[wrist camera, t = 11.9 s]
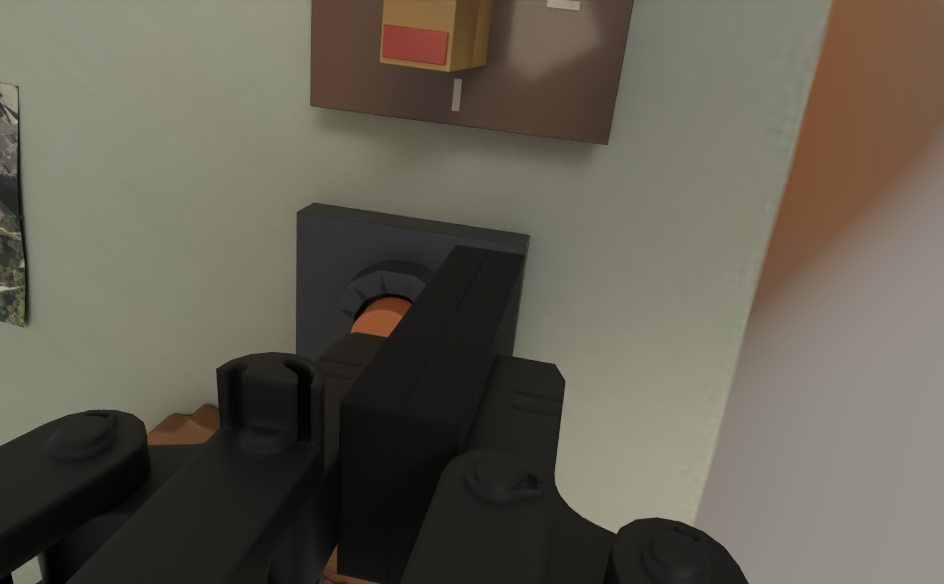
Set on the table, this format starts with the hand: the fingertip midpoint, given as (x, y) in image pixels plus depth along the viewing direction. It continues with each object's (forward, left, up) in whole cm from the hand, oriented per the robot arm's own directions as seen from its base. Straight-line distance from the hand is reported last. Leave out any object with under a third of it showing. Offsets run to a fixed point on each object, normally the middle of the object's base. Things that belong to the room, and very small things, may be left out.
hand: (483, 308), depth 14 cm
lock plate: (+4, -7, -20) cm, 22 cm away
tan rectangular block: (+4, -7, -17) cm, 19 cm away
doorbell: (+6, +9, -20) cm, 23 cm away
